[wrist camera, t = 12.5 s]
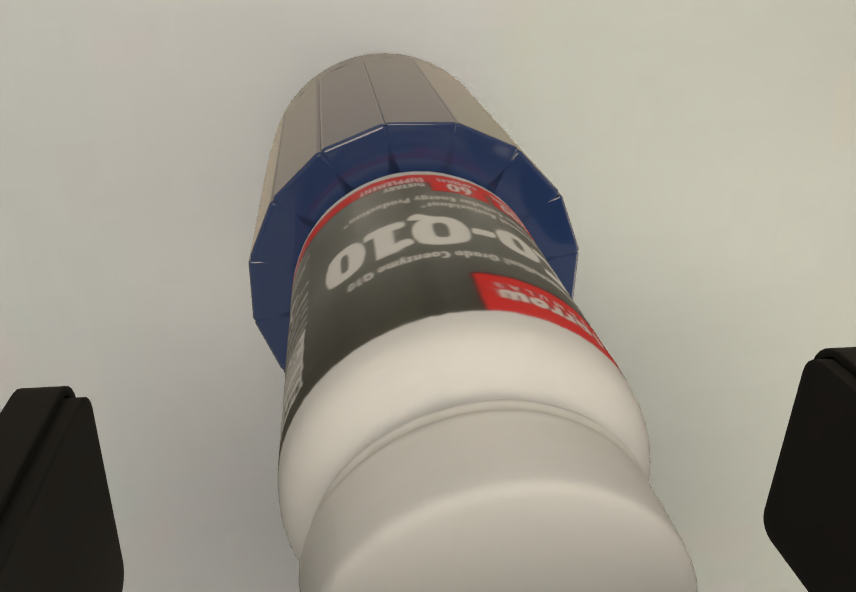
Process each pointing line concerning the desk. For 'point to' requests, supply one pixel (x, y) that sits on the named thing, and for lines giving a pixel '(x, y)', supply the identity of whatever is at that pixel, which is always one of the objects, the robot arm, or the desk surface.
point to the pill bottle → (457, 411)
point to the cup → (385, 167)
